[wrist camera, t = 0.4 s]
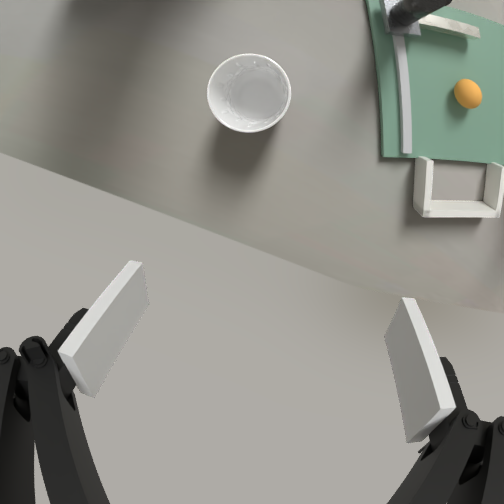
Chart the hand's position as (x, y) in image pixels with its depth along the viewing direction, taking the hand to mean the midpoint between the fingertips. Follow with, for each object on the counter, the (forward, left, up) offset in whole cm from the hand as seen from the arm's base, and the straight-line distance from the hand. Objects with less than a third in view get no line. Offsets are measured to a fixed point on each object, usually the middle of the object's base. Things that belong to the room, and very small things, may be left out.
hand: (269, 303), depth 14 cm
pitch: (-13, +25, -27) cm, 39 cm away
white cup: (-10, -2, -27) cm, 29 cm away
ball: (-11, +25, -24) cm, 36 cm away
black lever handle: (-20, +20, -25) cm, 38 cm away
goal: (+2, +25, -27) cm, 37 cm away
